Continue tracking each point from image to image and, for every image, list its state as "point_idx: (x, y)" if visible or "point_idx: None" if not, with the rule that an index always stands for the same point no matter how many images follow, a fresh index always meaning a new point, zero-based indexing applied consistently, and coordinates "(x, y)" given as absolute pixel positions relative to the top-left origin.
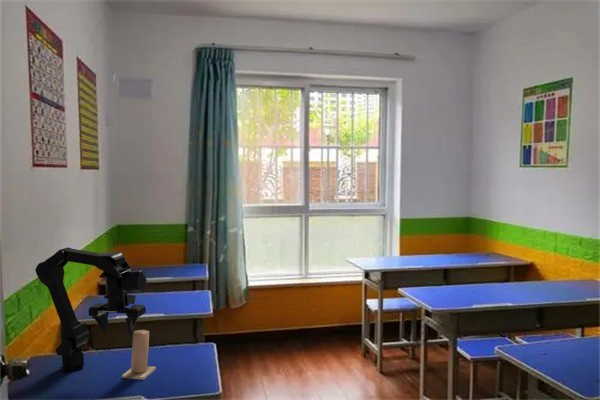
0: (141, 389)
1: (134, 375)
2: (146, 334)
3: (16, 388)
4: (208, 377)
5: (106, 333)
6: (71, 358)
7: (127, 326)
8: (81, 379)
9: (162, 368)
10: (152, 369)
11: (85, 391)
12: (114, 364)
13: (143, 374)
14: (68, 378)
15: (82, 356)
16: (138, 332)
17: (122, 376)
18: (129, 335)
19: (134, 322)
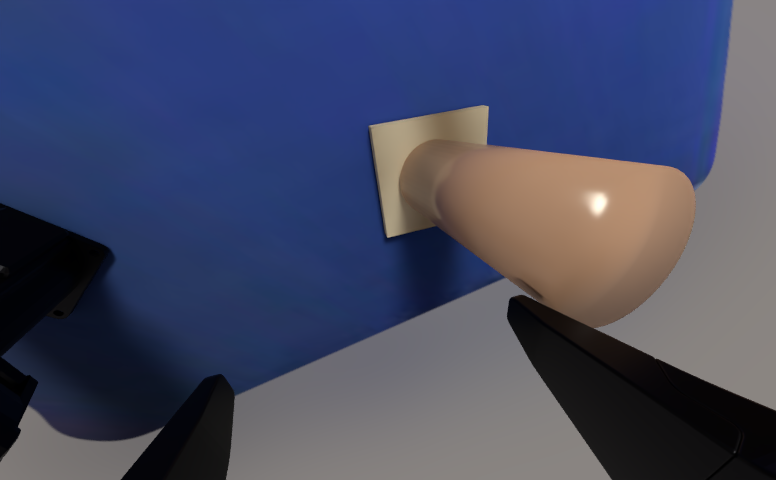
0: None
1: None
2: (670, 256)
3: (69, 435)
4: (700, 92)
5: (233, 406)
6: (25, 333)
7: (604, 461)
8: (228, 304)
9: (505, 80)
10: (485, 139)
11: (331, 339)
12: (218, 132)
13: None
14: (163, 323)
15: (22, 266)
16: (604, 282)
17: (388, 234)
18: (510, 323)
19: (711, 415)
